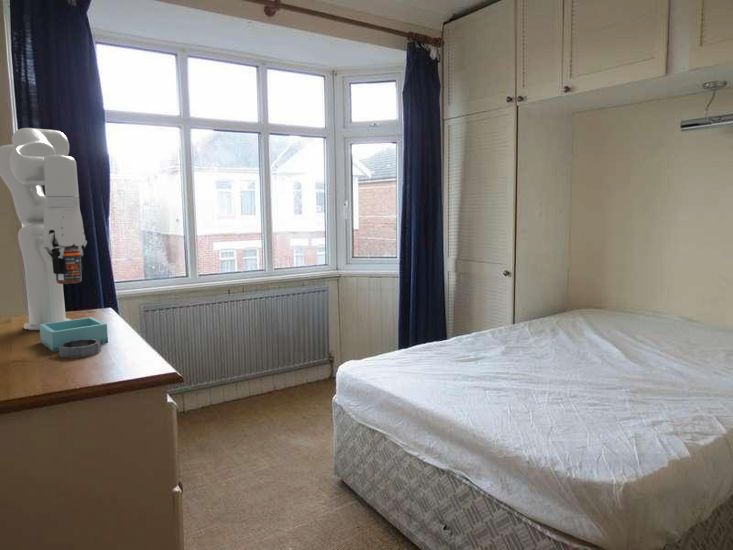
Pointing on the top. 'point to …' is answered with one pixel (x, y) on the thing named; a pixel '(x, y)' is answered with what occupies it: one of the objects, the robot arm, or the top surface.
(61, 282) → the supplement bottle
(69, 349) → the collar
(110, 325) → the top surface
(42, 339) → the bin
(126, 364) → the top surface
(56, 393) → the top surface
